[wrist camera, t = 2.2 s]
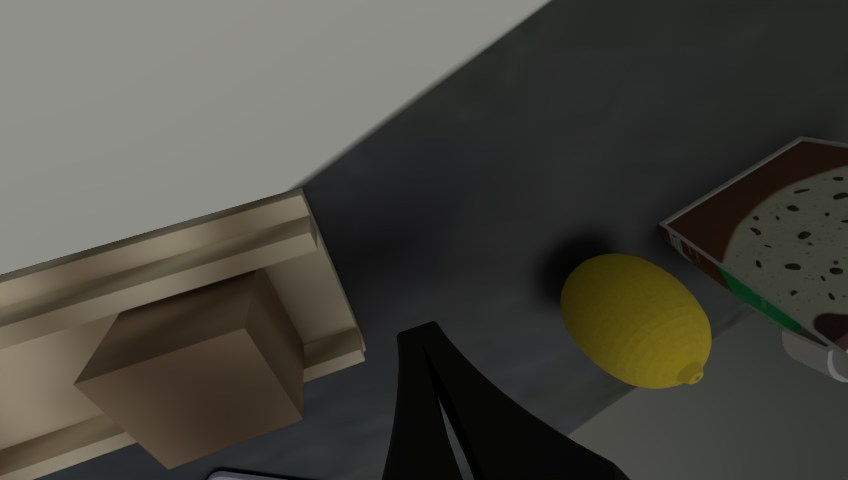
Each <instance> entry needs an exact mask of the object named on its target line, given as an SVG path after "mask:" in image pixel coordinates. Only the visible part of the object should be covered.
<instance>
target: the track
mask: <svg viewBox="0 0 848 480" xmlns="http://www.w3.org/2000/svg"><path fill="white" fill-rule="evenodd" d="M259 268H263V270H264V272H265V274H266V276H267V278H268V279H269V281H270V283H271V285H272V287H273V289H274V290H275V292H276V294H277V296H278V298H279V300H280V302H281V303H282V305H283V307H284V309H285V311H286V313H287V315H288V316H289V318H290V320H291V322H292V324H293V326H294V327H295V329H296V331H297V333H298V335H299V337H300V339H301V340H302V342H303V344H304V382H307V381H310V380H313V379H316V378H318V377H321V376H324V375H327V374H330V373H332V372H335V371H338V370H341V369H344V368H346V367H349V366H352V365H355V364H358V363H360V362H363V361H365V358H364V352H363V351H366V347H365V342H364V338H363V336H362V333H361V331H360V329H359V326H358V324H357V321H356V319H355V316H354V314H353V311H352V309H351V307H350V304H349V302H348V299H347V297H346V294H345V292H344V289H343V287H342V285H341V282H340V280H339V277H338V275H337V272H336V270H335V268H334V265H333V263H332V260H331V258H330V255H329V253H328V250H327V248H326V246H325V243H324V241H323V238H322V236H321V233H320V231H319V229H318V226H317V224H316V221H315V219H314V216H313V214H312V211H311V209H310V207H309V204H308V202H307V199H306V197H305V194H304V192H303V190H302V187H301V188H298V189H294V190H291V191H288V192H284V193H281V194H277V195H274V196H270V197H267V198H263V199H260V200H257V201H253V202H250V203H246V204H243V205H239V206H236V207H232V208H229V209H226V210H222V211H219V212H215V213H212V214H208V215H205V216H201V217H198V218H195V219H191V220H188V221H184V222H181V223H178V224H174V225H171V226H167V227H164V228H160V229H157V230H153V231H150V232H147V233H143V234H140V235H136V236H133V237H129V238H126V239H122V240H119V241H116V242H112V243H109V244H106V245H102V246H98V247H95V248H91V249H88V250H84V251H81V252H78V253H74V254H71V255H67V256H64V257H60V258H57V259H53V260H50V261H47V262H43V263H40V264H36V265H33V266H30V267H26V268H23V269H19V270H16V271H13V272H9V273H6V274H2V275H0V480H33V479H36V478H38V477H41V476H44V475H47V474H50V473H52V472H55V471H58V470H61V469H64V468H66V467H69V466H72V465H75V464H78V463H80V462H83V461H86V460H89V459H92V458H94V457H97V456H100V455H103V454H106V453H108V452H111V451H114V450H117V449H120V448H122V447H125V446H128V445H131V444H134V443H136V442H137V441H136V440H134V439H133V438H132V437H131V436H130V435H129V434H128V433H127V432H125V431H124V430H123V429H122V428H121V427H120V426H119V425H118V424H117V423H115V422H114V421H113V420H112V419H111V418H110V417H109V416H108V415H106V414H105V413H104V412H103V411H102V410H101V409H100V408H99V407H97V406H96V405H95V404H94V403H93V402H92V401H91V400H90V399H88V398H87V397H86V396H85V395H84V394H83V393H82V392H81V391H79V390H78V389H77V388H76V387H75V386H74V385H73V384H74V383H75V381H76V379H77V378H78V376H79V375H80V373H81V372H82V370H83V369H84V367H85V366H86V364H87V362H88V361H89V359H90V358H91V356H92V355H93V353H94V352H95V350H96V349H97V347H98V346H99V344H100V342H101V341H102V339H103V338H104V336H105V335H106V333H107V332H108V330H109V329H110V327H111V325H112V324H113V322H114V321H115V319H116V318H117V316H118V315H119V313H120V312H122V311H125V310H128V309H131V308H134V307H138V306H141V305H144V304H147V303H150V302H153V301H157V300H160V299H163V298H166V297H169V296H173V295H176V294H179V293H182V292H185V291H189V290H192V289H195V288H198V287H201V286H205V285H208V284H211V283H214V282H217V281H220V280H224V279H227V278H230V277H233V276H236V275H240V274H243V273H246V272H249V271H252V270H256V269H259Z"/></svg>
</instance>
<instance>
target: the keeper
mask: <svg viewBox="0 0 848 480" xmlns="http://www.w3.org/2000/svg"><path fill="white" fill-rule="evenodd" d="M73 385H74V386H75V387H76V388H77V389H78V390H79V391H81V392H82V393H83V394H84V395H85V396H86V397H87V398H88V399H90V400H91V401H92V402H93V403H94V404H95V405H96V406H97V407H99V408H100V409H101V410H102V411H103V412H104V413H105V414H106V415H108V416H109V417H110V418H111V419H112V420H113V421H114V422H115V423H117V424H118V425H119V426H120V427H121V428H122V429H123V430H124V431H125V432H127V433H128V434H129V435H130V436H131V437H132V438H133V439H134V440H136V441H137V442H138V443H139V444H140V445H141V446H142V447H143V448H145V449H146V450H147V451H148V452H149V453H150V454H151V455H152V456H154V457H155V458H156V459H157V460H158V461H159V462H160V463H161V464H163V465H164V466H165V467H166V468H167V469H168V470H169V469H171V468H174V467H177V466H179V465H182V464H185V463H188V462H190V461H193V460H196V459H198V458H201V457H204V456H207V455H209V454H212V453H215V452H217V451H220V450H223V449H225V448H228V447H231V446H234V445H236V444H239V443H242V442H244V441H247V440H250V439H253V438H255V437H258V436H261V435H263V434H266V433H269V432H271V431H274V430H277V429H280V428H282V427H285V426H288V425H290V424H293V423H296V422H299V421H301V420H304V344H303V342H302V340H301V339H300V337H299V335H298V333H297V331H296V329H295V327H294V326H293V324H292V322H291V320H290V318H289V316H288V315H287V313H286V311H285V309H284V307H283V305H282V303H281V302H280V300H279V298H278V296H277V294H276V292H275V290H274V289H273V287H272V285H271V283H270V281H269V279H268V278H267V276H266V274H265V272H264V270H263V268H259V269H256V270H252V271H249V272H246V273H243V274H240V275H236V276H233V277H230V278H227V279H224V280H220V281H217V282H214V283H211V284H208V285H205V286H201V287H198V288H195V289H192V290H189V291H185V292H182V293H179V294H176V295H173V296H169V297H166V298H163V299H160V300H157V301H153V302H150V303H147V304H144V305H141V306H138V307H134V308H131V309H128V310H125V311H122V312H120V313H119V315H118V316H117V318H116V319H115V321H114V322H113V324H112V325H111V327H110V329H109V330H108V332H107V333H106V335H105V336H104V338H103V339H102V341H101V342H100V344H99V346H98V347H97V349H96V350H95V352H94V353H93V355H92V356H91V358H90V359H89V361H88V362H87V364H86V366H85V367H84V369H83V370H82V372H81V373H80V375H79V376H78V378H77V379H76V381H75V383H74V384H73Z"/></svg>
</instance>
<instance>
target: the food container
mask: <svg viewBox="0 0 848 480" xmlns="http://www.w3.org/2000/svg"><path fill="white" fill-rule="evenodd" d="M659 227H660V231H661V234H662V237H663V238H664V239H665V240H666V241H667V242H668V244H669V245H670V246H671V247H672V248H673V249H674V250H676V251H677V252H678V253H680V254H681V255H682V256H684V257H685V258H686V259H688V260H689V261H690V262H692V263H693V264H694V265H695V266H697V267H698V268H699V269H701V270H702V271H703V272H705V273H706V274H707V275H709V276H710V277H711V278H713V279H714V280H715V281H717V282H718V283H719V284H721V285H722V286H723V287H725V288H726V289H727V290H729V291H730V292H731V293H733V294H734V295H735V296H737V297H738V298H739V299H740V300H742V301H743V302H744V303H746V304H747V305H748V306H750V307H751V308H752V309H754V310H755V311H756V312H758V313H759V314H760V315H762V316H763V317H764V318H766V319H767V320H768V321H770V322H771V323H772V324H774V325H775V326H776V327H778V328H779V329H780V330H782V336H783V344H784V347H785V350H786V352H787V353H788V354H789V355H790V356H791V357H792V358H793V359H795V360H797V361H799V362H801V363H803V364H806V365H808V366H810V367H812V368H814V369H816V370H818V371H820V372H822V373H824V374H827V375H828V376H831V377H833V378H835V379H837V380H839V381H842V382H848V143H842V142H836V141H829V140H823V139H817V138H810V137H804V136H800V137H798V138H797V139H795V140H793V141H792V142H790V143H788V144H787V145H785V146H784V147H782V148H780V149H779V150H777V151H775V152H774V153H772V154H771V155H769V156H767V157H766V158H764V159H762V160H761V161H759V162H758V163H756V164H754V165H753V166H751V167H750V168H748V169H746V170H745V171H743V172H741V173H740V174H738V175H737V176H735V177H733V178H732V179H730V180H728V181H727V182H725V183H724V184H722V185H720V186H719V187H717V188H715V189H714V190H712V191H711V192H709V193H707V194H706V195H704V196H702V197H701V198H699V199H698V200H696V201H694V202H693V203H691V204H690V205H688V206H686V207H685V208H683V209H681V210H680V211H678V212H677V213H675V214H673V215H672V216H670V217H668V218H667V219H665V220H664V221H662V222H660V223H659Z"/></svg>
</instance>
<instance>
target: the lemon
mask: <svg viewBox="0 0 848 480" xmlns="http://www.w3.org/2000/svg"><path fill="white" fill-rule="evenodd" d="M561 312H562V316H563V320H564V323H565V325H566V328H567V330H568V331H569V333H570V335H571V336H572V338H573V339H574V341H575V342H576V343H577V345H578V346H579V347H580V349H581V350H582V351H583V352H584V353H585V354H586V355H587V356H588V357H589V358H590V359H591V360H592V361H593V362H594V363H596V364H597V365H598V366H599V367H601V368H602V369H603V370H605V371H606V372H608V373H609V374H611V375H612V376H614V377H616V378H618V379H620V380H622V381H624V382H626V383H628V384H631V385H634V386H639V387H645V388H657V389H658V388H667V387H673V386H675V385H679V384H682V383H687V384H694V383H696V382H698V381H699V380H700V379H701V378H702V377H703V368H702V367H703V366H704V364H705V362H706V360H707V358H708V356H709V352H710V348H711V330H710V324H709V321H708V318H707V316H706V314H705V313H704V311H703V309H702V308H701V306H700V304H699V303H698V302H697V300H696V299H695V298H694V296H693V295H692V294H691V293H690V292H689V291H688V289H687V288H686V287H685V286H684V285H683V284H682V283H680V282H679V281H678V280H677V279H676V278H675V277H673V276H672V275H671V274H669V273H668V272H666V271H665V270H663V269H661V268H660V267H658V266H656V265H655V264H653V263H651V262H649V261H647V260H644V259H642V258H639V257H636V256H630V255H625V254H616V253H614V254H605V255H599V256H596V257H593V258H590V259H588V260H586V261H585V262H583V263H581V264H580V265H579V266H578V267H576V268H575V269H574V270H573V271H572V273H571V274H570V275H569V276H568V278H567V280H566V281H565V284H564V287H563V289H562V293H561Z"/></svg>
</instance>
